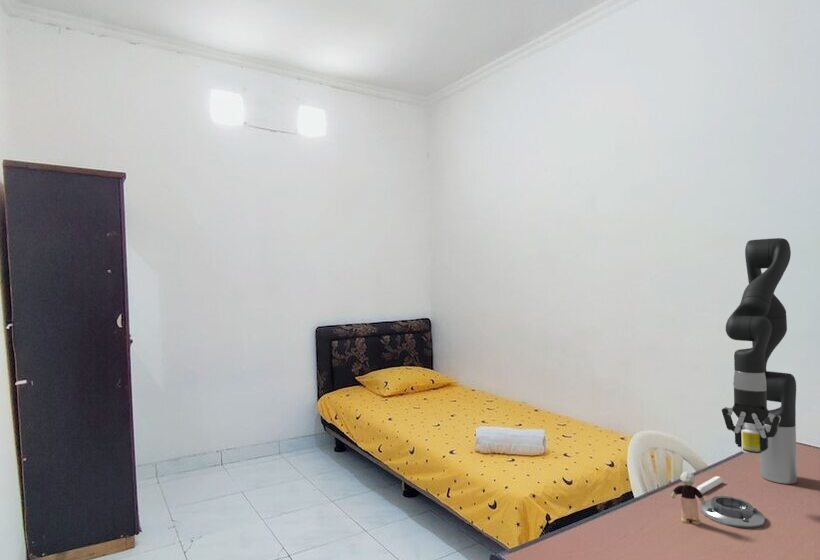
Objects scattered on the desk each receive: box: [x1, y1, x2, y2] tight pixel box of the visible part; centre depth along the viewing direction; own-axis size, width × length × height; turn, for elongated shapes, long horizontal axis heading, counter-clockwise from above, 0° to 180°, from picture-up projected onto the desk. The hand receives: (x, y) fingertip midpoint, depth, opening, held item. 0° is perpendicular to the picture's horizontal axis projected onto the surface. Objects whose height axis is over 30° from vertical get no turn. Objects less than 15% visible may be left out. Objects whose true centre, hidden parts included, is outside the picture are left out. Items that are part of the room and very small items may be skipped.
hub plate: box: [700, 495, 765, 529], centre depth 130 cm, size 14×14×3 cm
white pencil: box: [696, 475, 724, 495], centre depth 147 cm, size 3×2×16 cm
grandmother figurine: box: [670, 470, 706, 525], centre depth 127 cm, size 8×4×13 cm, turn 71°
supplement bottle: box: [740, 422, 762, 456], centre depth 137 cm, size 5×5×8 cm
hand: (751, 448), depth 137 cm, fingers closed on supplement bottle, 4 cm apart
